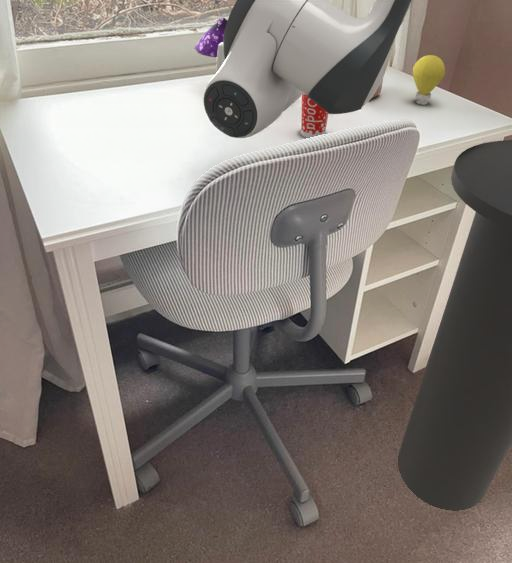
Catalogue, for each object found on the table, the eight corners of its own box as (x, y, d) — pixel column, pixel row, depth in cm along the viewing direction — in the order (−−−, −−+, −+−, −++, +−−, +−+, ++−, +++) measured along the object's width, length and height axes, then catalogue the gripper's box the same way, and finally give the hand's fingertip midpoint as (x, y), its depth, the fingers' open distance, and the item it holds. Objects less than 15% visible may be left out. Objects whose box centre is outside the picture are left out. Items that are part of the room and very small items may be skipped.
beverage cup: (291, 135, 102) (296, 58, 94) (306, 125, 107) (313, 51, 98) (319, 143, 100) (327, 65, 91) (334, 132, 104) (343, 57, 95)
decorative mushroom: (203, 78, 128) (201, 9, 119) (254, 82, 127) (256, 13, 118) (189, 95, 119) (186, 22, 110) (245, 100, 117) (246, 26, 108)
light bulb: (401, 98, 121) (410, 52, 114) (427, 96, 122) (437, 50, 116) (415, 109, 116) (425, 60, 109) (443, 106, 117) (454, 59, 111)
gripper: (351, 63, 69) (372, 41, 79) (207, 42, 74) (244, 23, 85) (344, 111, 73) (365, 84, 83) (207, 88, 78) (243, 65, 88)
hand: (303, 53), depth 84 cm, fingers open, 8 cm apart
